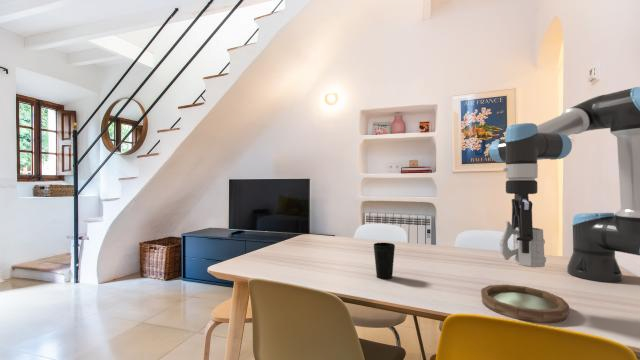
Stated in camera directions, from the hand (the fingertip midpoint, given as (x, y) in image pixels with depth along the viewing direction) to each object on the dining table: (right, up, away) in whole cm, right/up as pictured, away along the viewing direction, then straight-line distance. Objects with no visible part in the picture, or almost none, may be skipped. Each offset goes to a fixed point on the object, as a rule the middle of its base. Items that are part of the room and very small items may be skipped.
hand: (521, 261), depth 88 cm
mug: (0, -1, -1) cm, 1 cm away
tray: (0, -13, 0) cm, 13 cm away
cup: (-33, -13, +28) cm, 45 cm away
